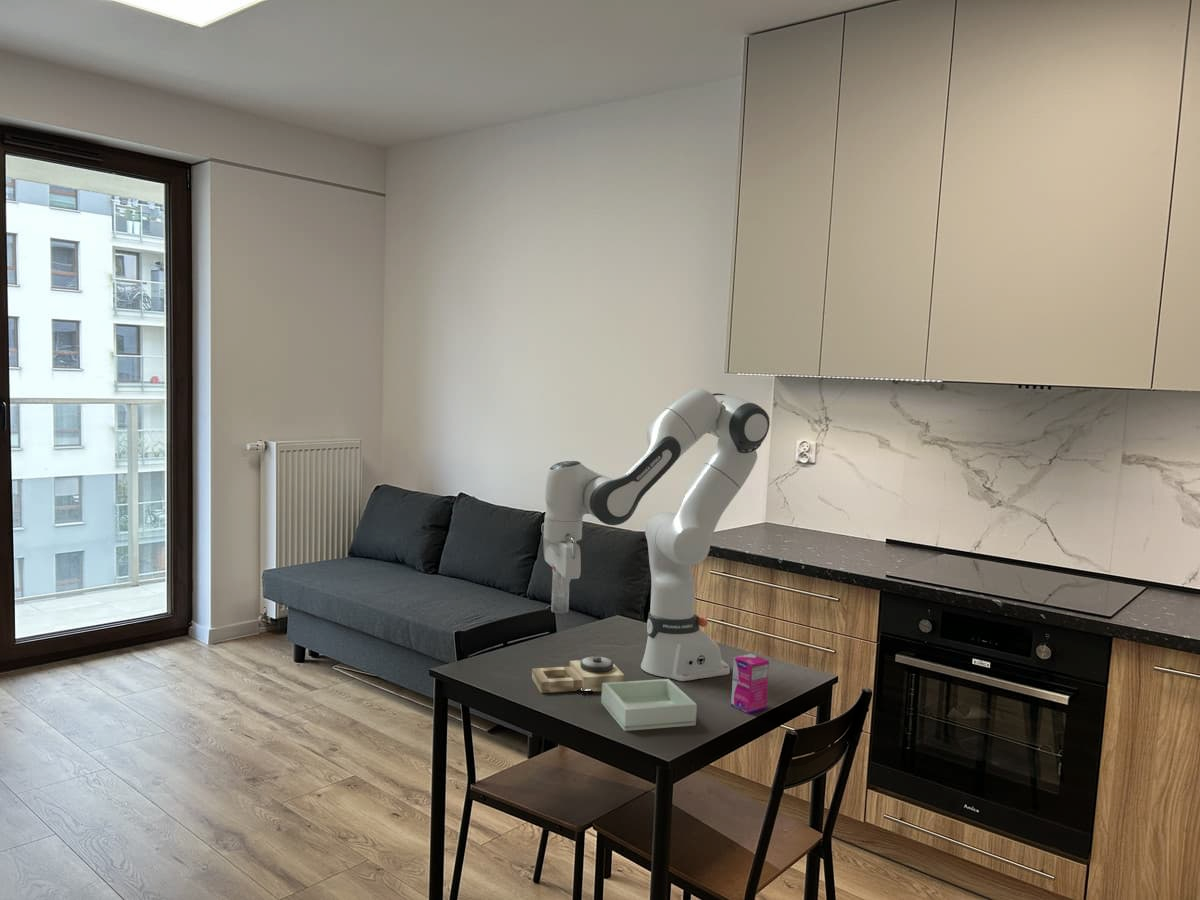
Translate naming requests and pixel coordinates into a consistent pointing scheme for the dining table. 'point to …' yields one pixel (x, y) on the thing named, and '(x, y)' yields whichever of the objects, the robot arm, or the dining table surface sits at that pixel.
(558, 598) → the lock pin
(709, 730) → the dining table surface
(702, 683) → the dining table surface
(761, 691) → the supplement box
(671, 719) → the tray
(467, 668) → the dining table surface
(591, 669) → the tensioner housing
